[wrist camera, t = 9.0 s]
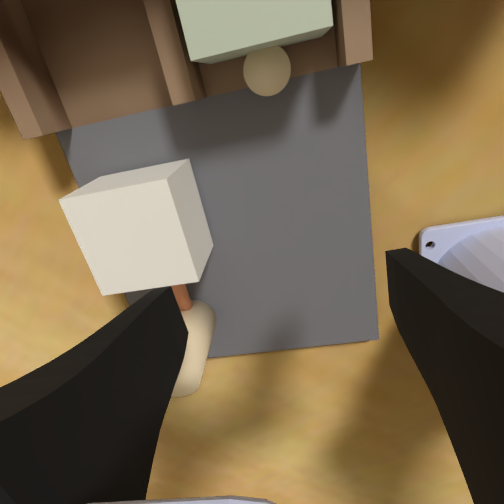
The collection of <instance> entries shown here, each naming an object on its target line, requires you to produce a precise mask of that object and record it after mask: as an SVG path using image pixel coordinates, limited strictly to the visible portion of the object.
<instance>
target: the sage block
mask: <svg viewBox="0 0 504 504" xmlns="http://www.w3.org/2000/svg"><path fill="white" fill-rule="evenodd" d="M176 4H177V8H178V12H179V16H180V20H181V24H182V28H183V32H184V36H185V40H186V44H187V48H188V52H189V56H190V60H191V61H194V62H200V63H207V64H213V63H218V62H222V61H226V60H230V59H234V58H238V57H242V56H246V55H247V57H246V59H245V62H244V67H243V74H244V79H245V81H246V83H247V85H248V87H249V88H250V89H251V90H252V91H253V92H254V93H256V94H258V95H261V96H272V95H275V94H277V93H279V92H280V91H281V90H283V88H284V87H285V86H286V85H287V83H288V81H289V78H290V73H291V64H290V60H289V58H288V55H287V54H286V52H285V51H284V50H283V49H282V48H281V47H283V46H287V45H291V44H295V43H299V42H303V41H307V40H311V39H316V38H320V37H322V36H323V35H324V34H325V33H326V32H327V31H328V30H329V29H330V28H331V27H332V26H333V17H332V6H331V0H176Z"/></svg>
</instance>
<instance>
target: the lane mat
mask: <svg viewBox="0 0 504 504" xmlns="http://www.w3.org/2000/svg"><path fill="white" fill-rule="evenodd" d="M55 133H56V135H57V138H58V140H59V142H60V145H61V147H62V149H63V152H64V154H65V156H66V159H67V161H68V163H69V166H70V168H71V170H72V173H73V175H74V177H75V180H76V182H77V184H78V187H79V188H81V187H82V186H84V185H86V184H88V183H90V182H91V181H93V180H95V179H97V178H99V177H100V176H105V175H110V174H115V173H120V172H125V171H130V170H135V169H140V168H144V167H149V166H154V165H159V164H164V163H169V162H174V161H179V160H184V159H189V160H190V163H191V167H192V171H193V174H194V178H195V181H196V185H197V188H198V192H199V195H200V199H201V203H202V206H203V210H204V213H205V217H206V220H207V224H208V227H209V231H210V234H211V238H212V242H213V245H214V246H213V248H212V250H211V253H210V255H209V258H208V260H207V263H206V265H205V268H204V270H203V273H202V275H201V278H200V280H199V282H194V283H187V284H185V285H186V288H187V291H188V294H189V297H190V300H198V301H201V302H204V303H206V304H207V305H209V306H210V307H211V308H212V309H213V310H214V312H215V314H216V318H217V321H216V326H215V330H214V333H213V337H212V341H211V345H210V348H209V352H208V356H207V358H213V357H222V356H231V355H241V354H250V353H259V352H268V351H277V350H287V349H296V348H305V347H314V346H323V345H333V344H342V343H351V342H360V341H370V340H379V331H378V316H377V301H376V287H375V272H374V257H373V242H372V228H371V213H370V198H369V184H368V169H367V154H366V139H365V125H364V110H363V95H362V81H361V66H360V63H356V64H352V65H348V66H341V67H336V68H331V69H327V70H323V71H318V72H314V73H310V74H305V75H301V76H297V77H292V78H289V81H288V83H287V85H286V86H285V87H284V88H283V90H281V91H280V92H279V93H277V94H275V95H272V96H261V95H258V94H256V93H254V92H253V91H252V90H251V89H250V88H244V89H240V90H236V91H231V92H227V93H223V94H218V95H214V96H210V97H206V98H202V99H199V100H195V101H191V102H187V103H182V104H178V105H174V106H173V105H171V106H166V107H162V108H158V109H153V110H149V111H144V112H140V113H136V114H131V115H127V116H123V117H118V118H114V119H110V120H105V121H101V122H97V123H92V124H88V125H84V126H79V127H75V128H71V129H67V130H63V131H59V132H55ZM166 287H168V286H166ZM159 288H162V287H159ZM171 288H172V287H171ZM153 289H156V288H152V289H145V290H138V291H131V292H125V293H124V294H125V296H126V298H127V301H128V303H129V305H130V306H131V305H132V304H133V303H135V302H136V301H137V300H139V299H140V298H141V297H143V296H144V295H145V294H147V293H148V292H150V291H152V290H153Z"/></svg>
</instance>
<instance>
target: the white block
mask: <svg viewBox="0 0 504 504" xmlns="http://www.w3.org/2000/svg"><path fill="white" fill-rule="evenodd" d="M58 201H59V203H60V205H61V207H62V209H63V211H64V214H65V216H66V218H67V220H68V222H69V224H70V227H71V229H72V231H73V233H74V235H75V237H76V239H77V242H78V244H79V246H80V248H81V250H82V252H83V255H84V257H85V259H86V261H87V263H88V265H89V268H90V270H91V272H92V274H93V276H94V278H95V281H96V283H97V285H98V287H99V289H100V291H101V294H102V296H104V295H111V294H118V293H125V292H131V291H138V290H145V289H152V288H159V287H166V286H171V287H172V290H173V293H174V295H175V298H176V301H177V303H178V306H179V308H180V311H181V314H182V316H183V319H184V322H185V324H186V327H187V329H188V332H189V334H188V340H187V346H186V351H185V356H184V360H183V363H182V366H181V369H180V372H179V375H178V378H177V381H176V384H175V386H174V389H173V392H172V395H171V396H173V397H184V396H188V395H191V394H192V393H194V392H195V391H196V390H197V389H198V388H199V386H200V382H201V379H202V375H203V371H204V367H205V364H206V360H207V356H208V352H209V348H210V345H211V341H212V337H213V333H214V330H215V326H216V321H217V318H216V314H215V312H214V310H213V309H212V308H211V307H210V306H209V305H207V304H206V303H204V302H201V301H198V300H190V297H189V294H188V291H187V288H186V285H185V284H187V283H194V282H199V280H200V278H201V275H202V273H203V270H204V268H205V265H206V263H207V260H208V258H209V255H210V253H211V250H212V248H213V246H214V245H213V242H212V238H211V234H210V231H209V227H208V224H207V220H206V217H205V213H204V210H203V206H202V203H201V199H200V195H199V192H198V188H197V185H196V181H195V178H194V174H193V171H192V167H191V163H190V160H189V159H184V160H179V161H174V162H169V163H164V164H159V165H154V166H149V167H144V168H140V169H135V170H130V171H125V172H120V173H115V174H110V175H105V176H100V177H99V178H97V179H95V180H93V181H91V182H90V183H88V184H86V185H84V186H82V187H81V188H79V189H77V190H75V191H73V192H72V193H70V194H68V195H66V196H64V197H63V198H61V199H59V200H58Z"/></svg>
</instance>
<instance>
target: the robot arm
mask: <svg viewBox="0 0 504 504" xmlns="http://www.w3.org/2000/svg"><path fill="white" fill-rule="evenodd" d="M430 241H433V243H432V245H431V246H428V247H425V246H426V244H427V243H428V242H430ZM385 252H386V265H387V278H388V292H389V305H390V308H391V311H392V313H393V316H394V319H395V322H396V325H397V327H398V330H399V332H400V334H401V336H402V338H403V340H404V342H405V344H406V346H407V348H408V350H409V352H410V354H411V356H412V358H413V359H414V361H415V363H416V365H417V367H418V369H419V371H420V373H421V375H422V377H423V378H424V380H425V382H426V384H427V386H428V388H429V390H430V392H431V394H432V396H433V398H434V400H435V403H436V405H437V407H438V410H439V412H440V415H441V417H442V420H443V422H444V425H445V427H446V430H447V432H448V435H449V437H450V440H451V443H452V445H453V448H454V451H455V453H456V456H457V459H458V461H459V464H460V466H461V469H462V472H463V474H464V477H465V480H466V483H467V485H468V488H469V491H470V494H471V496H472V499H473V502H474V504H504V215H503V216H497V217H490V218H484V219H477V220H471V221H464V222H458V223H451V224H445V225H438V226H432V227H427V228H424V229H423V230H421V232H420V233H419V254H418V253H416V252H414V251H412V250H410V249H407V248H402V249H396V250H390V251H385ZM188 334H189V332H188V329H187V327H186V324H185V322H184V319H183V316H182V314H181V311H180V308H179V306H178V303H177V301H176V298H175V295H174V293H173V290H172V288H171V286H168V287H162V288H156V289H153V290H152V291H150V292H148V293H147V294H145V295H144V296H143V297H141V298H140V299H139V300H137V301H136V302H135V303H133V304H132V305H131V306H129V307H128V308H127V309H126V310H124V311H123V312H122V313H120V314H119V315H118V316H116V317H115V318H114V319H113V320H111V321H110V322H109V323H107V324H106V325H105V326H103V327H102V328H100V329H99V330H98V331H96V332H95V333H93V334H92V335H91V336H89V337H88V338H87V339H85V340H84V341H82V342H81V343H79V344H78V345H76V346H75V347H73V348H72V349H70V350H68V351H67V352H65V353H64V354H62V355H60V356H59V357H57V358H55V359H54V360H52V361H50V362H49V363H47V364H45V365H43V366H41V367H39V368H37V369H36V370H34V371H32V372H30V373H28V374H26V375H24V376H23V377H21V378H19V379H17V380H15V381H13V382H11V383H9V384H7V385H4V386H2V387H0V504H276V503H273V502H271V501H269V500H267V499H260V498H251V497H241V496H214V497H195V498H176V499H158V500H145V499H146V493H147V488H148V483H149V478H150V473H151V468H152V463H153V458H154V454H155V450H156V445H157V441H158V437H159V432H160V428H161V425H162V422H163V418H164V415H165V412H166V409H167V407H168V404H169V401H170V398H171V395H172V392H173V389H174V386H175V384H176V381H177V378H178V375H179V372H180V369H181V366H182V363H183V360H184V356H185V351H186V346H187V340H188Z"/></svg>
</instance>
